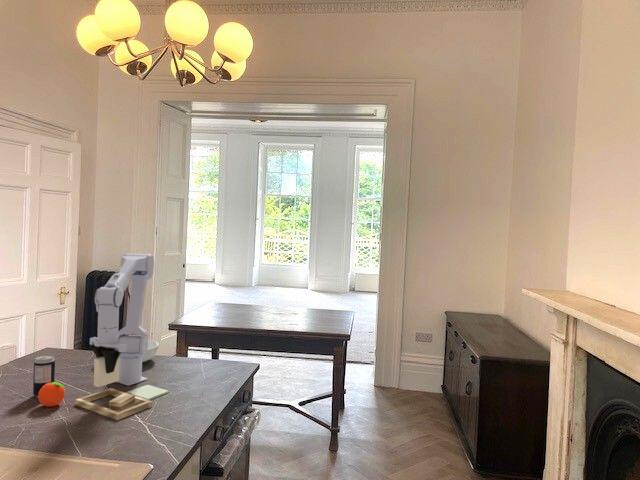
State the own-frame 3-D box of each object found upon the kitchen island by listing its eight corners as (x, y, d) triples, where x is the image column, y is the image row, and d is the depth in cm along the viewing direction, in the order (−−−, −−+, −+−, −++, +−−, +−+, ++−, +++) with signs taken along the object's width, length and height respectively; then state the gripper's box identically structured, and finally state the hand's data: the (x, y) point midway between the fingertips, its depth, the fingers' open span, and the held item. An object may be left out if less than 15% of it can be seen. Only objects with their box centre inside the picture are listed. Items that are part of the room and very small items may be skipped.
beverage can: (58, 394, 147) (59, 356, 146) (41, 400, 141) (41, 361, 141) (46, 390, 149) (47, 353, 149) (28, 396, 144) (29, 358, 143)
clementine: (73, 402, 141) (73, 379, 141) (58, 411, 134) (59, 387, 134) (47, 400, 141) (48, 377, 141) (32, 409, 135) (32, 385, 134)
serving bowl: (156, 368, 175) (157, 350, 175) (95, 371, 169) (96, 353, 169) (159, 353, 195) (159, 337, 195) (104, 355, 189) (105, 338, 189)
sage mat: (126, 393, 149) (126, 391, 149) (147, 386, 157) (147, 384, 157) (147, 400, 144) (147, 398, 144) (168, 392, 152) (168, 390, 152)
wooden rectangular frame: (75, 404, 139) (75, 399, 139) (110, 392, 149) (111, 388, 149) (117, 420, 130) (117, 414, 130) (151, 406, 140) (152, 401, 140)
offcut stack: (108, 413, 134) (108, 401, 134) (123, 404, 141) (124, 393, 141) (120, 415, 133) (121, 403, 133) (135, 406, 140) (135, 394, 140)
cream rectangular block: (93, 385, 138) (94, 359, 138) (114, 379, 145) (114, 353, 144) (98, 387, 137) (99, 360, 137) (119, 380, 144) (119, 354, 143)
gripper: (80, 325, 141) (79, 370, 141) (112, 332, 133) (111, 379, 134) (101, 321, 147) (100, 364, 147) (132, 328, 140) (131, 373, 140)
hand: (107, 371), depth 141 cm, fingers closed on cream rectangular block, 2 cm apart
